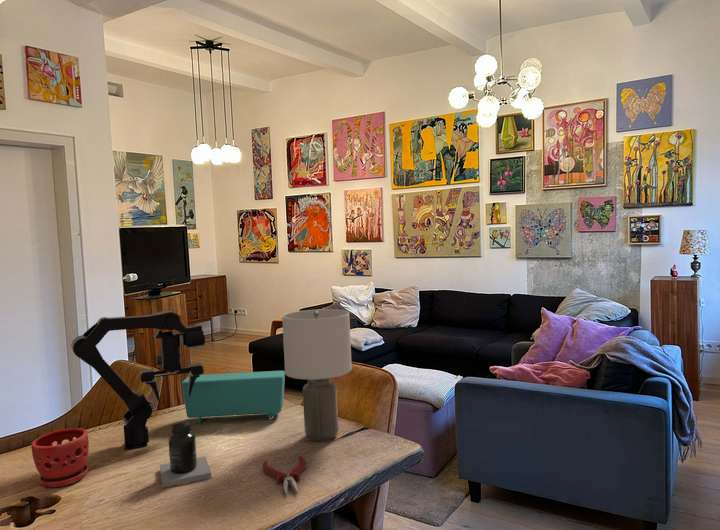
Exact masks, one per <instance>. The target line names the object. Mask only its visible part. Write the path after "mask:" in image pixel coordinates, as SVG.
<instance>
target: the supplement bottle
mask: <svg viewBox="0 0 720 530" xmlns="http://www.w3.org/2000/svg"><path fill="white" fill-rule="evenodd" d="M168 457H169V463H170V470H171V471H172V472H173V473H177V474H181V473H187V472H190V471H192V470H194V469H195V468H196V466H197V458H198V456H197V440H196V435H195V433H194V432H192V424H191V422H189V421H181V422H176V423H173V424H172V425H171V435H170V436H169V438H168Z"/></svg>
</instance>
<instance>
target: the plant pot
mask: <svg viewBox="0 0 720 530" xmlns="http://www.w3.org/2000/svg"><path fill="white" fill-rule="evenodd" d="M74 438H75V439H74ZM64 440H65V441H66V440H67V441H68V442H64ZM55 442H56V444H55V445H53V443H55ZM63 442H64V443H63ZM89 443H90V441H89V433H88V431H87V429H85V428H81V427H70V428H63V429H57V430H54V431H51V432H48V433H45V434H42V435H41V436H40V435H39V437H37V438H35V439H34V440H33V441H32V442H31V453H32V459H33V462H34V465H35V469H36V470H37V472H38V473H39V474H40V477H39V482H40V483H41V485H42V486H45V487H49V488H57V487H58V488H59V486H60V487H63V486H64V485H65V486H69V485H68V484H70V485H72V484H74V483H76V482H78V481H79V480H82V479H83V478H85V476H86V475H87V474H88V472H89V470H90V469H89V465H88V464H87V461H88V457H89V452H90V451H89V450H90V449H89V447H90V445H89ZM71 483H72V484H71Z"/></svg>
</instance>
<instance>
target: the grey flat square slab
mask: <svg viewBox="0 0 720 530" xmlns="http://www.w3.org/2000/svg"><path fill="white" fill-rule="evenodd" d="M159 471H160V477H161V487H162V488H163V487H166V488H169V487H168V486H171V487H173V486H172V485H176V486H179V485H178V484H181V485H184V484H183V483H186V484H188V483H187V482H191V483H195V482H194V481H196V482H200V481H199V480H201V481H204V479H205V480H210V479H212V472H211V468H210V466H209V463H208V459H207V457H206V456H201V457H200V456H199V457H197V466H196V468H195V469H194V470H192V471H190V472H187V473H181V474H177V473H173V472H172V471H171V470H170V462H169V463H163V464H159ZM209 478H210V479H209Z"/></svg>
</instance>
